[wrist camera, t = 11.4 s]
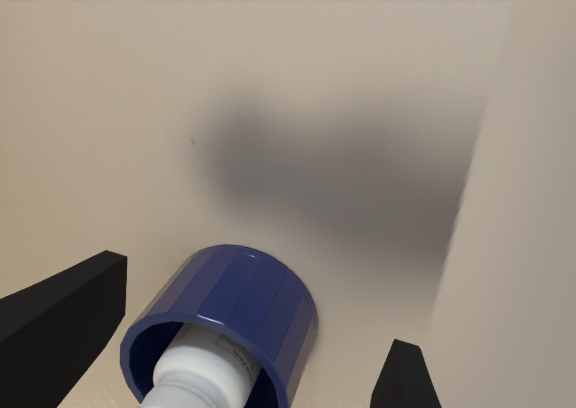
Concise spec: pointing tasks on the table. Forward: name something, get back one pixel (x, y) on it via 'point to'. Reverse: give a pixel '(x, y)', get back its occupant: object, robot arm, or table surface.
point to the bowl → (229, 320)
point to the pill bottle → (202, 371)
